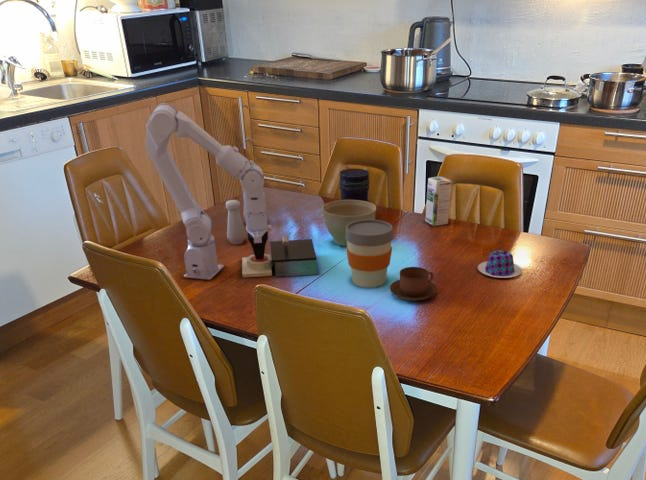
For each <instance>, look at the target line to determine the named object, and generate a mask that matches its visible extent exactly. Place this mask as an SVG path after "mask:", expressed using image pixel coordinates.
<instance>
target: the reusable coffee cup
mask: <svg viewBox="0 0 646 480" xmlns="http://www.w3.org/2000/svg"><path fill="white" fill-rule="evenodd" d="M345 239H346V240H347V246H345V247H346V249H345V250H346V256H347V263H348V266H349V267H350V272H351V278H352V279H351V280H352V281H351V282H352V283H353V285H355V286H358V287H361V288H368V289H369V288H370V289H371V288H378V287H381V286H383V285H384V284H385V283H386V280H387V274H388V267H389V266H390V264H391V259H392V252H393V247H392V241H393V240H394V230H393V225H392V224H391V223H390V222H388V221H384V220H381V219H375V220H358V221H354V222H351V223H349V224H348V225H347V226H346V235H345Z"/></svg>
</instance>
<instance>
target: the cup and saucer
mask: <svg viewBox="0 0 646 480" xmlns="http://www.w3.org/2000/svg"><path fill="white" fill-rule="evenodd" d="M429 275H430V277H429ZM434 277H435V276H434V272H432V271H428V270H427V269H425V268H423V267H419V266H406V267H404V268H401V270H399V279H398V280H395V281H393V282H392V283H391V284H390V286H389V289H390V292H391V294H393V296H395V297H397V298H399V299H401V300H405V301H413V302H417V301H425V300H427V299H430V298H432V297H433V296H435V295H436V293H437V292H438V286H437V285H436V284H435V283H433V282H432V281H433V280H434Z"/></svg>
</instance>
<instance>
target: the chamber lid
mask: <svg viewBox="0 0 646 480" xmlns="http://www.w3.org/2000/svg"><path fill="white" fill-rule="evenodd" d="M269 248H270V255H271V259H272V262H273V263H274V262H287V261H303V260H317V261H318V259H317V254H316V250H315V246H314V242H313V239H312V238H306V239H290V240H289V236H288V235H287V234H283V235H282V237H281V240H272V241H271V240H270V241H269Z"/></svg>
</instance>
